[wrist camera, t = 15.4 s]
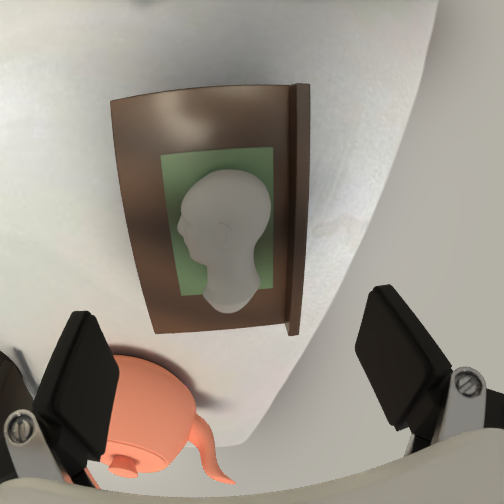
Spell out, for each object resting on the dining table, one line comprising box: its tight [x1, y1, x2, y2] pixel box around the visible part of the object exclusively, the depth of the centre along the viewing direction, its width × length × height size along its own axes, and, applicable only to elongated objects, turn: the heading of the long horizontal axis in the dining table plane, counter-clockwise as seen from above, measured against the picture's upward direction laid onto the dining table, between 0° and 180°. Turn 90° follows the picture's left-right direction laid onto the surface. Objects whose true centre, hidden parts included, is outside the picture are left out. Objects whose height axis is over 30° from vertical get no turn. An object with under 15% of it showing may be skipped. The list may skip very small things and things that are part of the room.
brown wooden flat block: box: [110, 83, 310, 336], centre depth 20 cm, size 17×11×6 cm, turn 2°
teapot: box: [100, 355, 236, 484], centre depth 27 cm, size 22×16×12 cm
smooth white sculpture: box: [177, 169, 271, 313], centre depth 16 cm, size 4×8×5 cm
